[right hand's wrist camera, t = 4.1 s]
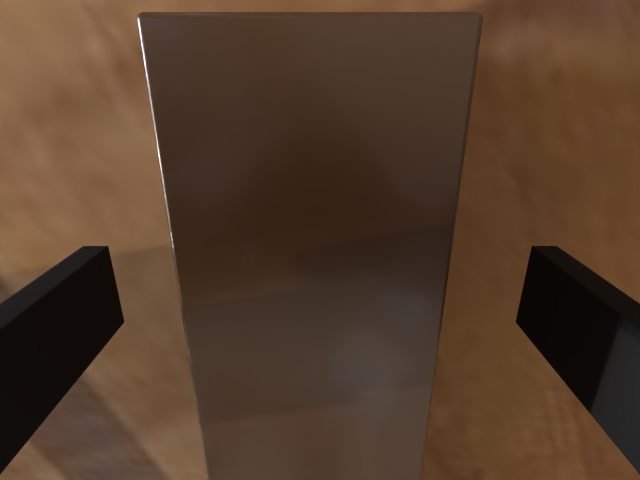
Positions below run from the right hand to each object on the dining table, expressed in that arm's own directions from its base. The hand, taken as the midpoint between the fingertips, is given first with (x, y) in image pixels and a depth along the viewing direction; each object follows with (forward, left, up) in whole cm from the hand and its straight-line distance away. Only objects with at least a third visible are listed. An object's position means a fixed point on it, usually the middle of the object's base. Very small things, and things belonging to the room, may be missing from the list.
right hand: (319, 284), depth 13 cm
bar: (-3, -23, -3) cm, 24 cm away
